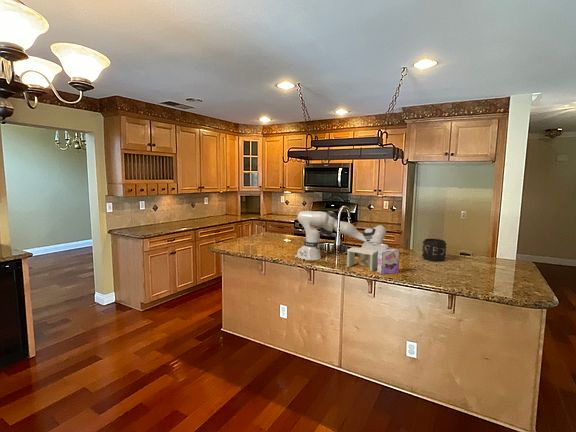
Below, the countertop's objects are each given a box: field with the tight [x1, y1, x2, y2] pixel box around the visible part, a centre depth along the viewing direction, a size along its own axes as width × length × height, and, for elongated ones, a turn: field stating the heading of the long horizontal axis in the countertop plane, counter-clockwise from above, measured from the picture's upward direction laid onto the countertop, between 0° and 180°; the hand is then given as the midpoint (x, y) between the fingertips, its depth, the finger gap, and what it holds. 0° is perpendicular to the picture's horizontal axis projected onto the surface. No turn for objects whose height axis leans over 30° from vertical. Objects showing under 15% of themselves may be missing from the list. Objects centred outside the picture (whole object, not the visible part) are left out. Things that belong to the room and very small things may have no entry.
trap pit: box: [350, 267, 365, 272], centre depth 246 cm, size 10×2×1 cm, turn 54°
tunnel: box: [346, 246, 378, 272], centre depth 251 cm, size 20×10×13 cm, turn 54°
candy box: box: [376, 248, 400, 275], centre depth 239 cm, size 14×6×16 cm, turn 105°
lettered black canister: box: [421, 238, 447, 263], centre depth 276 cm, size 18×18×16 cm
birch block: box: [358, 253, 370, 268], centre depth 260 cm, size 10×10×8 cm
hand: (371, 257), depth 265 cm, fingers closed
